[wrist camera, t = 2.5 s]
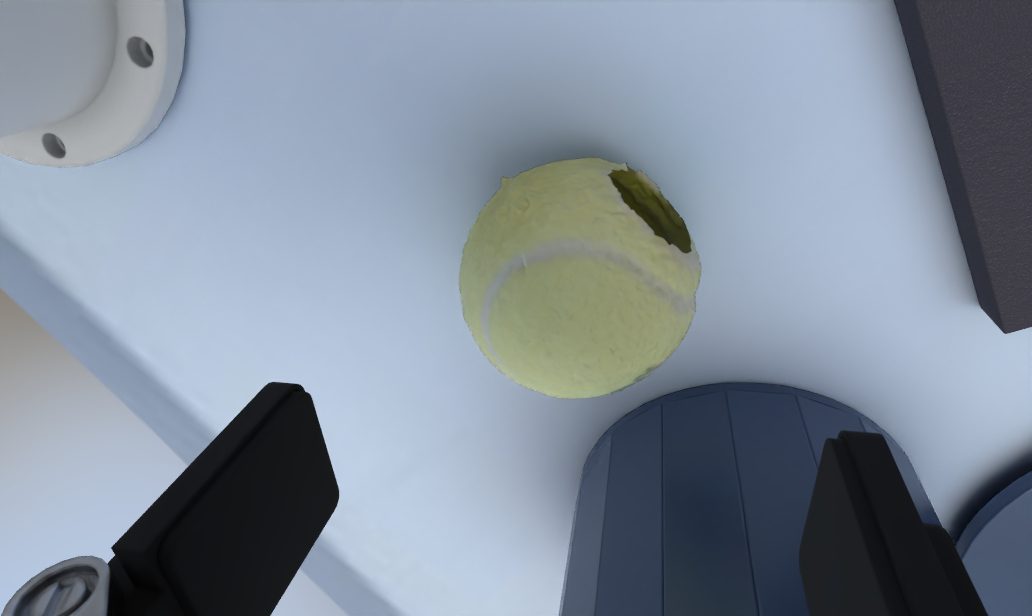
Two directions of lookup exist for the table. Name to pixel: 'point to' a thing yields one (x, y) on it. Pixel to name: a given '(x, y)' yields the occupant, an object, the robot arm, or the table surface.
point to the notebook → (982, 136)
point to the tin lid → (1002, 550)
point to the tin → (706, 503)
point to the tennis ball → (578, 278)
